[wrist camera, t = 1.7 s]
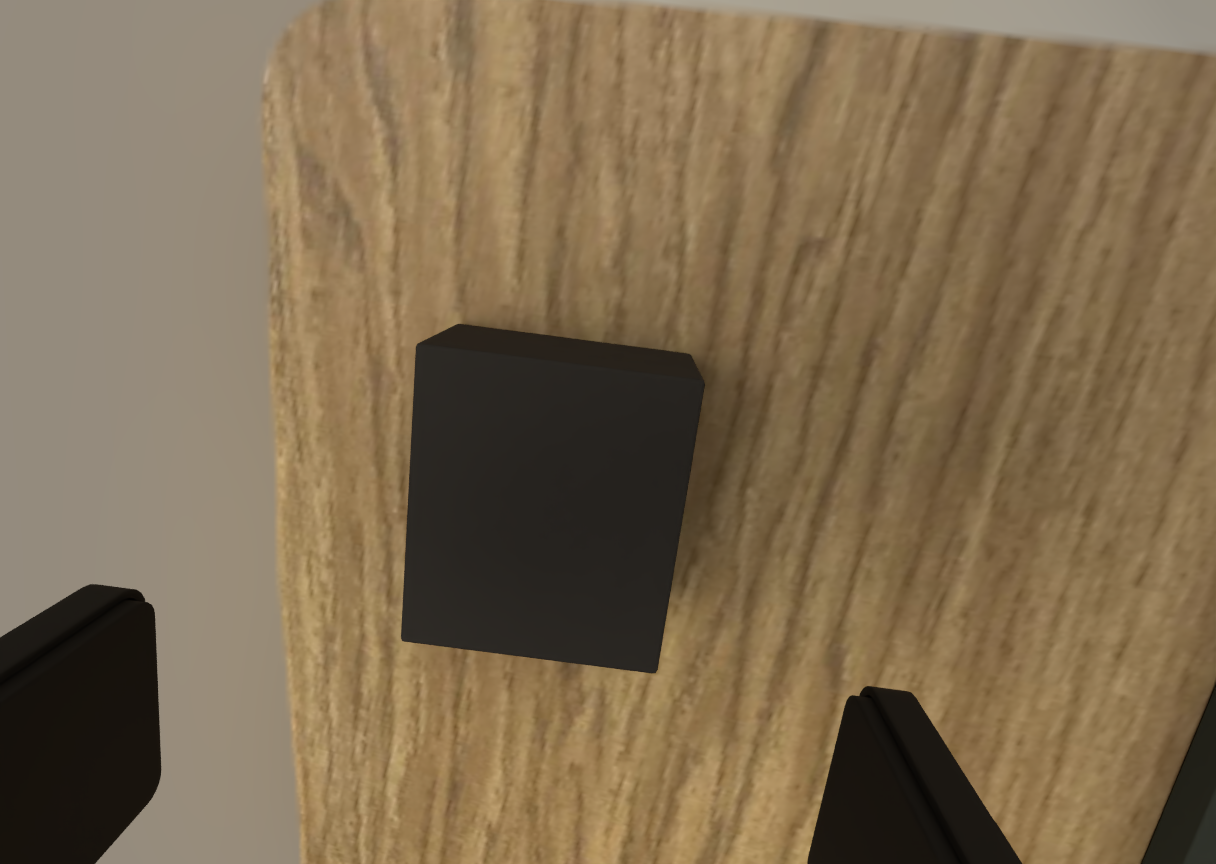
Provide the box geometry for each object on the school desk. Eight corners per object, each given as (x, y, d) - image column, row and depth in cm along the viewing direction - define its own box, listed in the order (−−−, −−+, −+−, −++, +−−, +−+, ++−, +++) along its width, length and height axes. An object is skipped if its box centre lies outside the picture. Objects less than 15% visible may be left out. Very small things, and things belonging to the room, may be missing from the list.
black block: (456, 323, 18) (415, 342, 14) (691, 353, 18) (705, 380, 14) (439, 573, 20) (399, 642, 16) (652, 600, 20) (656, 675, 16)
